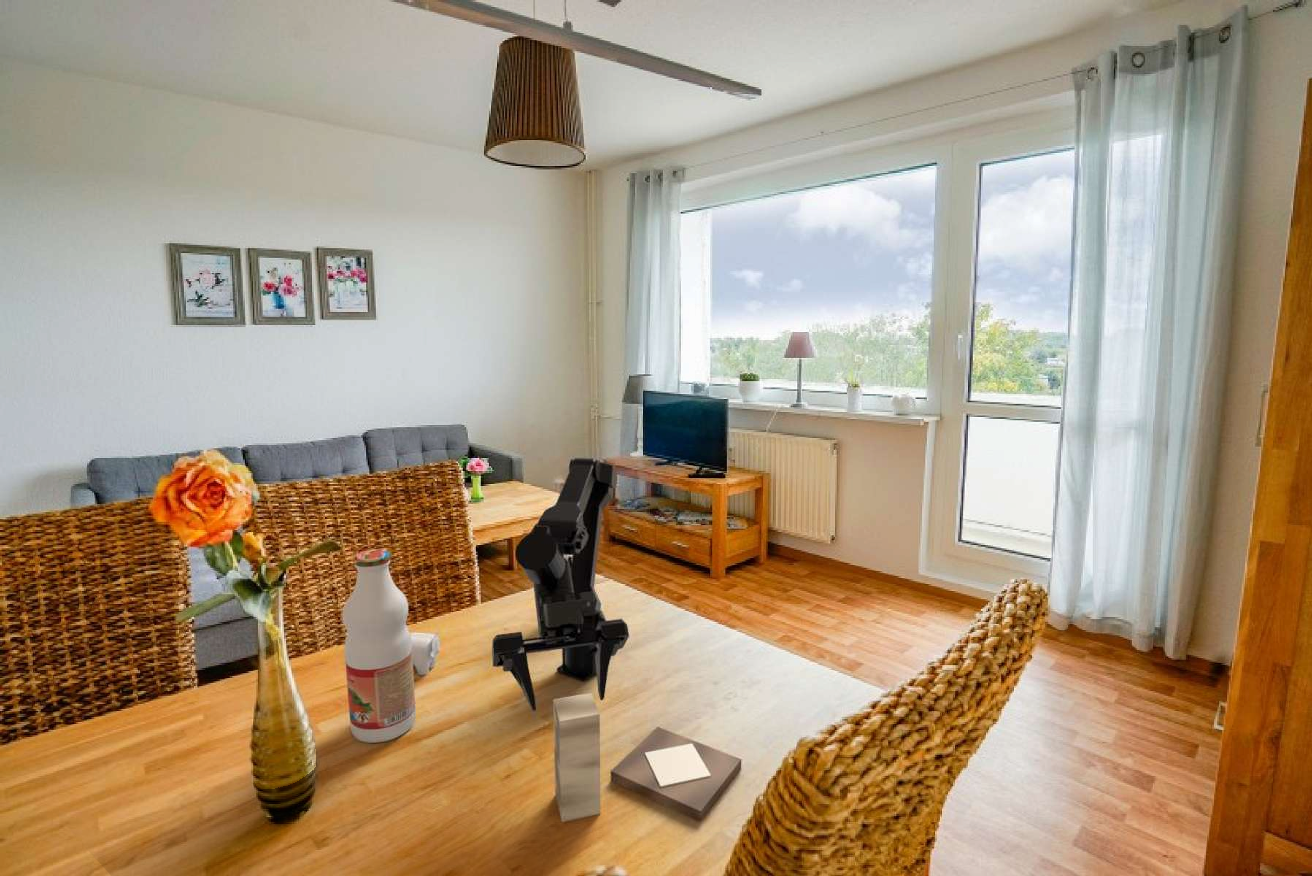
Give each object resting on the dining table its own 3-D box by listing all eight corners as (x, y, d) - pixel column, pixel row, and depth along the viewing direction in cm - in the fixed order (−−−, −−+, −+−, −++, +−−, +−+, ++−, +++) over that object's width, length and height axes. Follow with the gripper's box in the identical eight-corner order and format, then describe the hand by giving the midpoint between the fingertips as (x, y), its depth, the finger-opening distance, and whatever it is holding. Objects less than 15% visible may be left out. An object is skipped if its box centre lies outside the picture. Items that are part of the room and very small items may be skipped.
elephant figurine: (453, 655, 125) (452, 620, 124) (427, 682, 116) (425, 644, 114) (416, 652, 126) (414, 616, 125) (387, 678, 117) (385, 640, 116)
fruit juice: (413, 739, 100) (402, 562, 95) (345, 749, 97) (330, 568, 93) (418, 704, 109) (408, 541, 104) (356, 713, 106) (343, 546, 101)
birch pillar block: (555, 795, 88) (553, 699, 86) (592, 787, 90) (591, 693, 87) (561, 822, 84) (559, 721, 81) (600, 813, 85) (599, 714, 83)
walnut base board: (610, 780, 91) (610, 769, 91) (657, 735, 101) (657, 725, 101) (700, 821, 84) (700, 809, 83) (741, 768, 94) (741, 758, 93)
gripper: (490, 579, 88) (499, 699, 80) (625, 565, 94) (647, 676, 86) (488, 611, 97) (496, 722, 89) (612, 596, 103) (631, 700, 94)
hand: (568, 705), depth 89 cm, fingers open, 9 cm apart
